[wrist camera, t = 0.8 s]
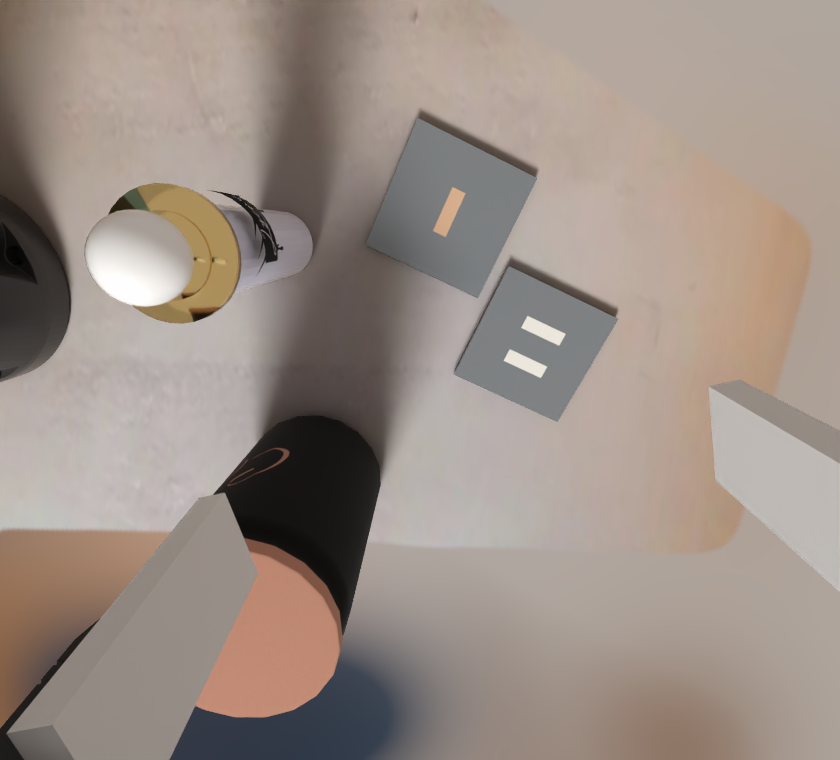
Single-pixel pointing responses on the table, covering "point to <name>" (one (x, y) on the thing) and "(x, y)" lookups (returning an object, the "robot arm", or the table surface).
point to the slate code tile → (534, 344)
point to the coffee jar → (294, 563)
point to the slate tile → (449, 208)
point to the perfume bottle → (190, 251)
